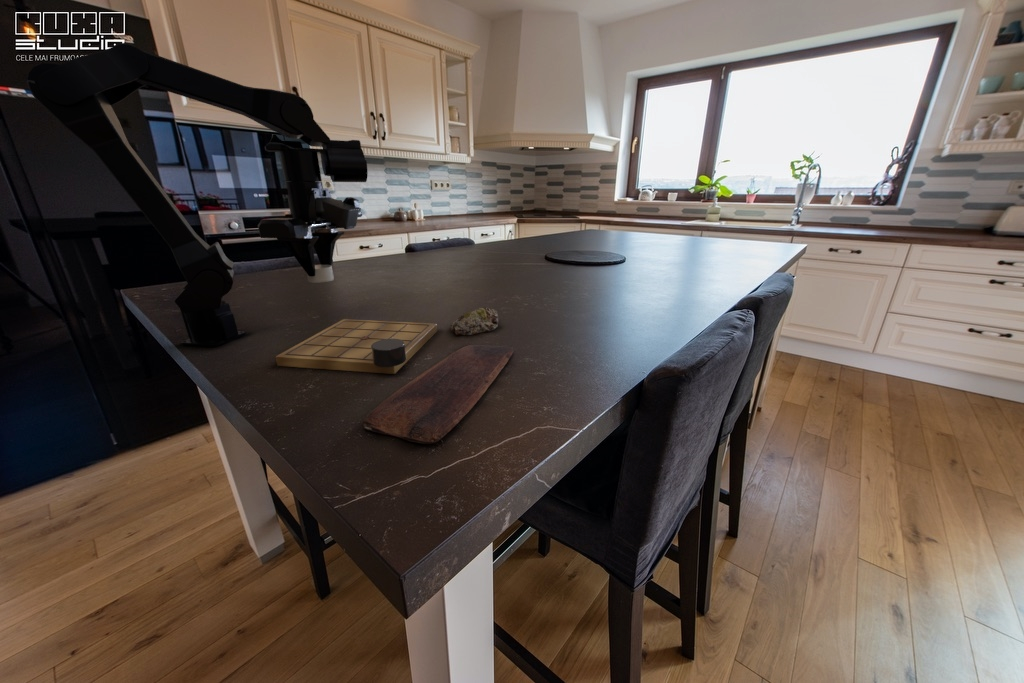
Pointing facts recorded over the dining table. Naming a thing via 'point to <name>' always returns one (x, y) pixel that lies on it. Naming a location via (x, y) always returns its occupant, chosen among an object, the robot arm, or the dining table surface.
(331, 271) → the cream stone
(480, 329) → the mineral rock
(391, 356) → the black stone
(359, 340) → the game board
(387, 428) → the wooden tablet
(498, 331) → the dining table surface
